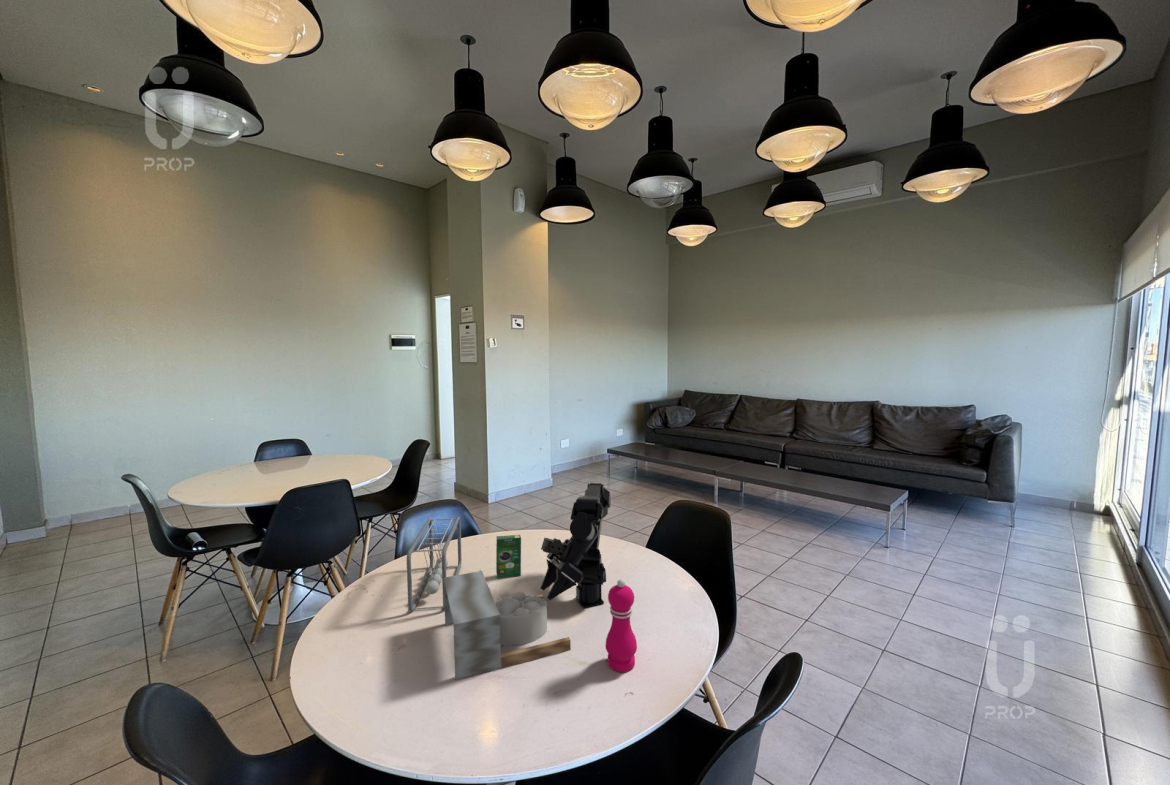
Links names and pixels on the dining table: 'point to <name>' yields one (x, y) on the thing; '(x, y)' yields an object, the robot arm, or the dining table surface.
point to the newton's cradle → (440, 565)
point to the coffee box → (508, 556)
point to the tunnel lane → (483, 628)
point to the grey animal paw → (522, 619)
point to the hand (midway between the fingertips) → (545, 594)
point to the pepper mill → (621, 629)
